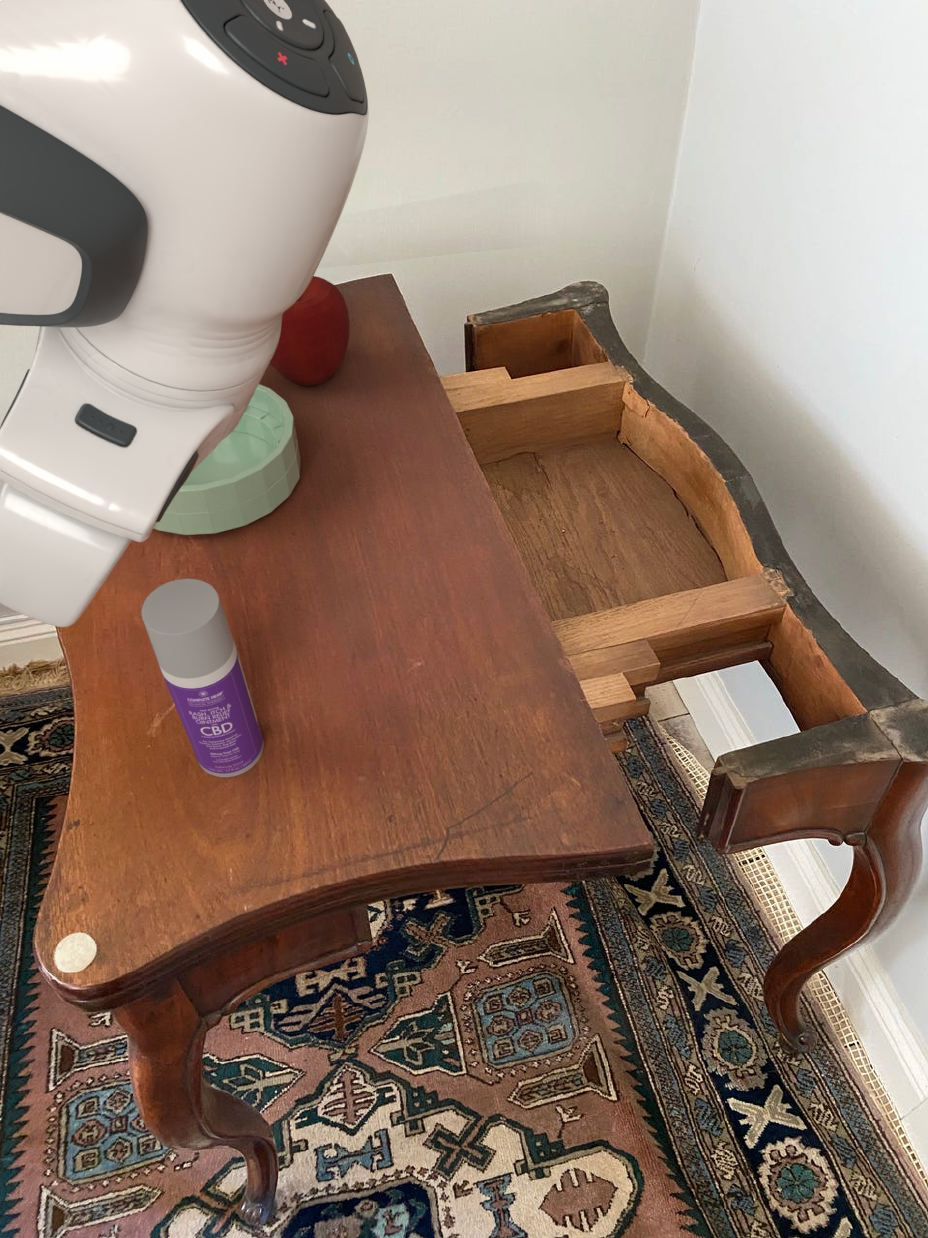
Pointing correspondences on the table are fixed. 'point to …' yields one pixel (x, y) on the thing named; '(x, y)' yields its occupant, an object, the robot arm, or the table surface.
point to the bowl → (240, 472)
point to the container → (204, 675)
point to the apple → (313, 335)
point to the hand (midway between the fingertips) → (100, 509)
